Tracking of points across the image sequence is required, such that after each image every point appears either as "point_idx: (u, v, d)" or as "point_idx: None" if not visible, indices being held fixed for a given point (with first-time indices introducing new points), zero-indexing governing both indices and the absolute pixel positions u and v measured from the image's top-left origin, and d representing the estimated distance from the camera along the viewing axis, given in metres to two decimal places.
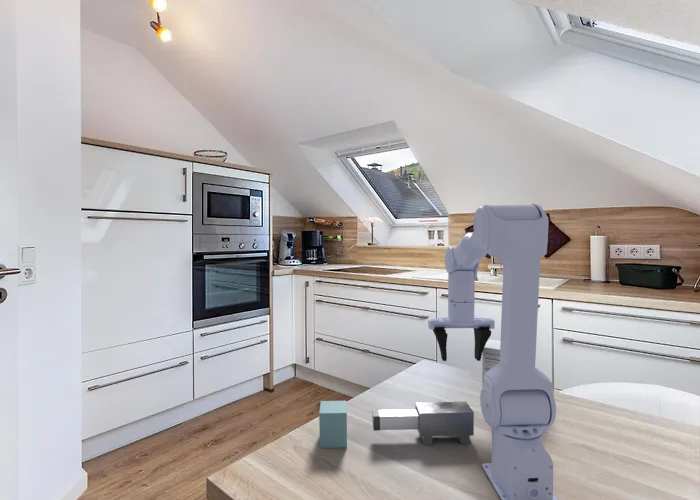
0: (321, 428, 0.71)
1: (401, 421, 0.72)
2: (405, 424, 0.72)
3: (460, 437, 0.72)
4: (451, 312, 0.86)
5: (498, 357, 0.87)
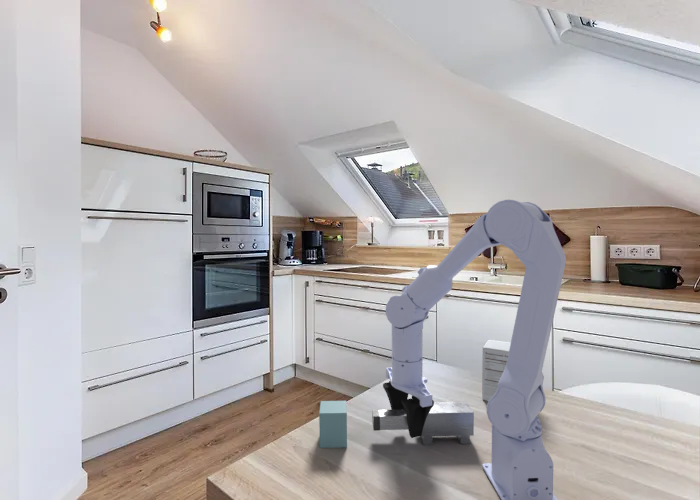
0: (321, 428, 0.71)
1: (401, 421, 0.72)
2: (405, 424, 0.72)
3: (460, 437, 0.72)
4: None
5: (498, 357, 0.87)
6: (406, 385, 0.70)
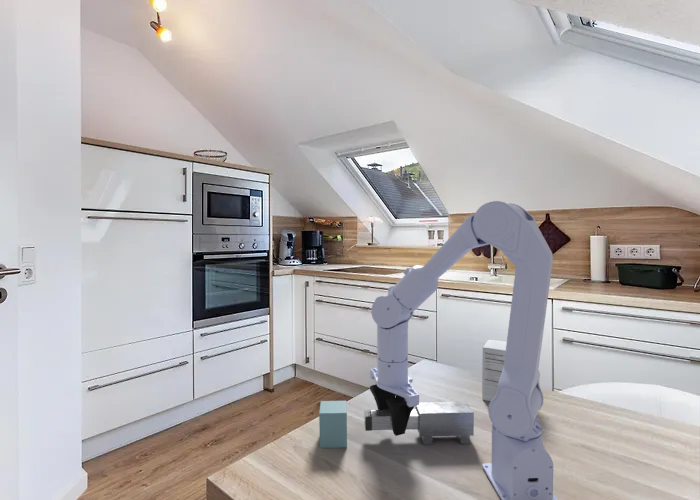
0: (321, 428, 0.71)
1: None
2: None
3: (460, 437, 0.72)
4: None
5: (498, 357, 0.87)
6: (392, 385, 0.70)
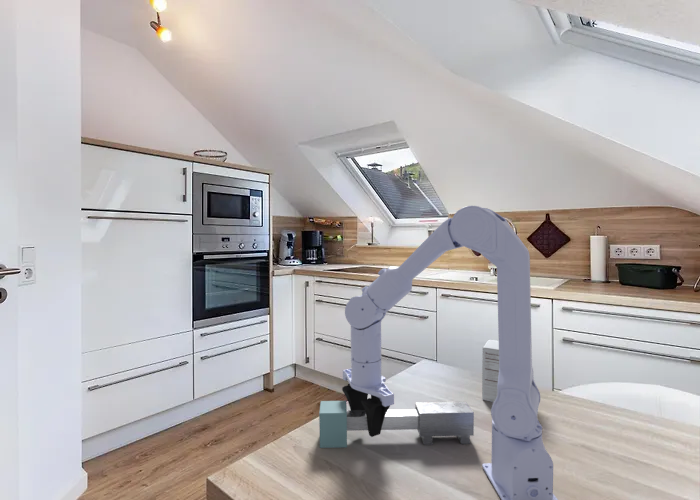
0: (321, 428, 0.71)
1: None
2: None
3: (460, 437, 0.72)
4: None
5: (498, 357, 0.87)
6: (367, 386, 0.70)
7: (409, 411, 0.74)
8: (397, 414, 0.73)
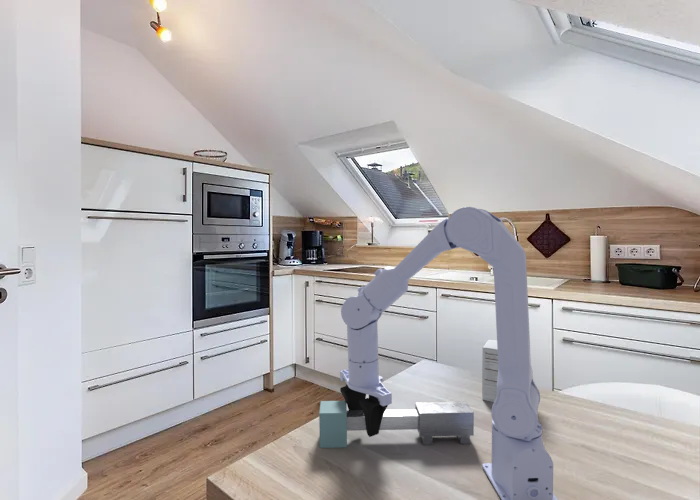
0: (321, 428, 0.71)
1: None
2: None
3: (460, 437, 0.72)
4: None
5: None
6: (364, 386, 0.70)
7: (408, 411, 0.74)
8: (395, 414, 0.73)
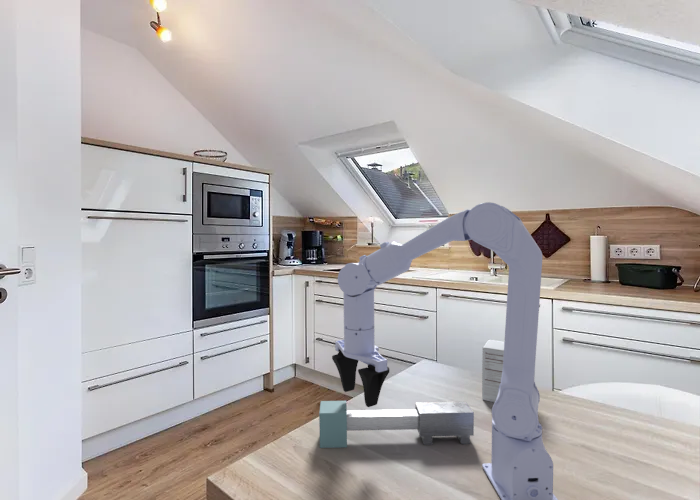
0: (321, 428, 0.71)
1: (365, 421, 0.72)
2: (369, 425, 0.72)
3: (460, 437, 0.72)
4: None
5: (498, 357, 0.87)
6: (360, 353, 0.70)
7: (407, 411, 0.74)
8: (394, 414, 0.73)
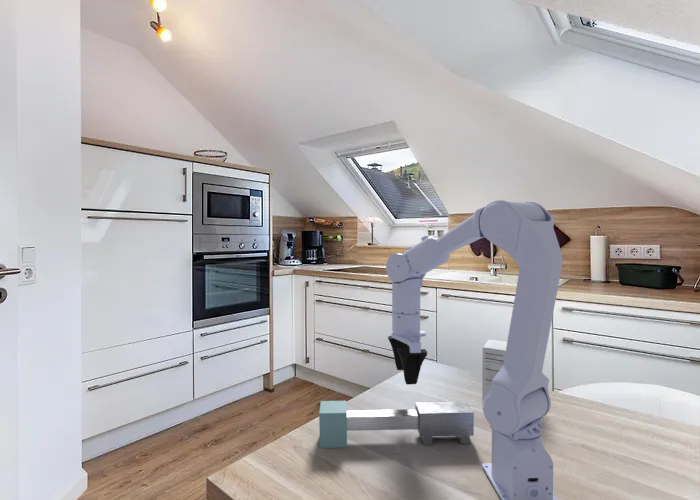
0: (321, 428, 0.71)
1: (365, 421, 0.72)
2: (369, 425, 0.72)
3: (460, 437, 0.72)
4: None
5: (498, 357, 0.87)
6: (402, 335, 0.77)
7: (407, 411, 0.74)
8: (394, 414, 0.73)
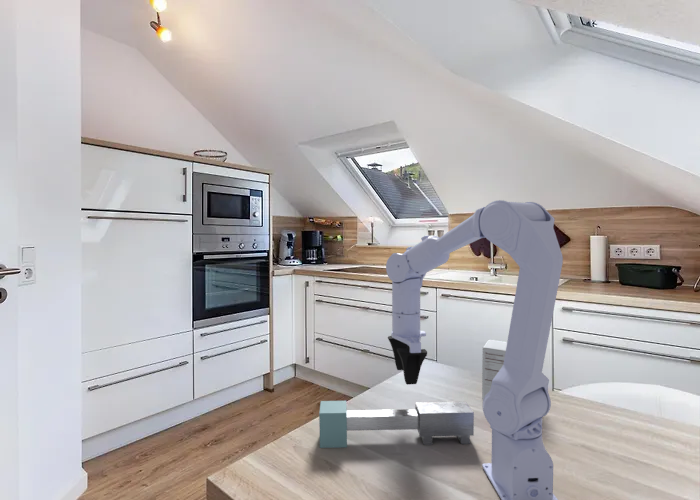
0: (321, 428, 0.71)
1: (365, 421, 0.72)
2: (369, 425, 0.72)
3: (460, 437, 0.72)
4: None
5: (498, 357, 0.87)
6: (402, 335, 0.77)
7: (407, 411, 0.74)
8: (394, 414, 0.73)
